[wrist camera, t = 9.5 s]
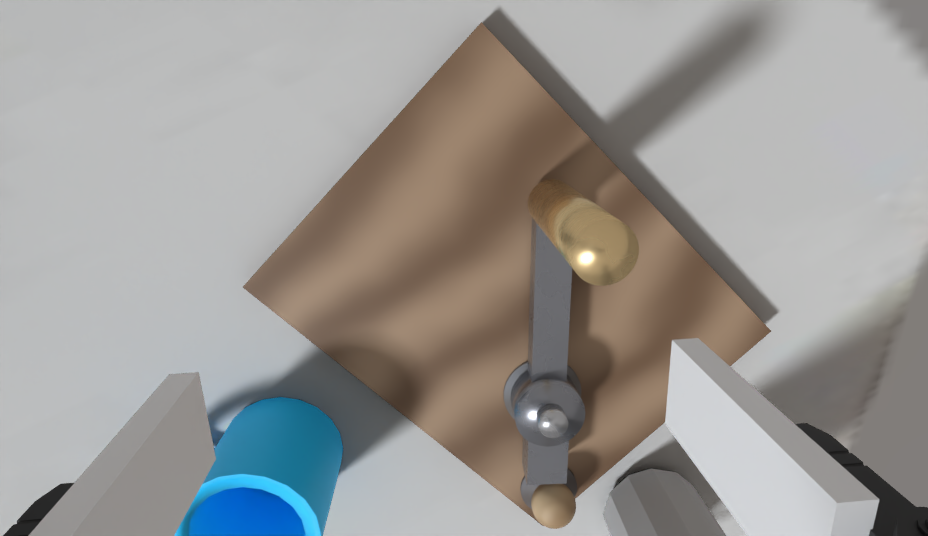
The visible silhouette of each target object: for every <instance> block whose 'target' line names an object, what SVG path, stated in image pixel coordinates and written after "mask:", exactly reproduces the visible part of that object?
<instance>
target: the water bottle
mask: <svg viewBox="0 0 928 536" xmlns="http://www.w3.org/2000/svg"><path fill="white" fill-rule="evenodd" d="M603 515H604V518H605V521H606V524H607V528H608V531H609V534H610V536H726V535H725V533H724V532H723V530H722V529H721V527H720V526H719V524H718V523H717V521H716V520H715V518H714V516H713V515H712V513H711V512H710V510H709V509H708V507H707V506H706V504H705V503H704V501H703V500H702V498H701V497H700V495H699V494H698V492H697V491H696V489H695V488H694V486H693V485H692V484H690V483H689V482H688V481H687V480H686V479H684V478H683V477H682V476H681V475H679V474H678V473H677V472H671V471H664V470H658V469H651V468H650V469H647V470H644V471H640V472H637V473H634V474H630V475H628V476H627V477H626V478H625V479H624V480H623V481H622V482H620V483H619V484H618V485H617V486H616V487H615V488H614V489H613V490H612V491H611V492H610V494H609V497H608V500H607V503H606V506H605V509H604V513H603Z"/></svg>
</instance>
